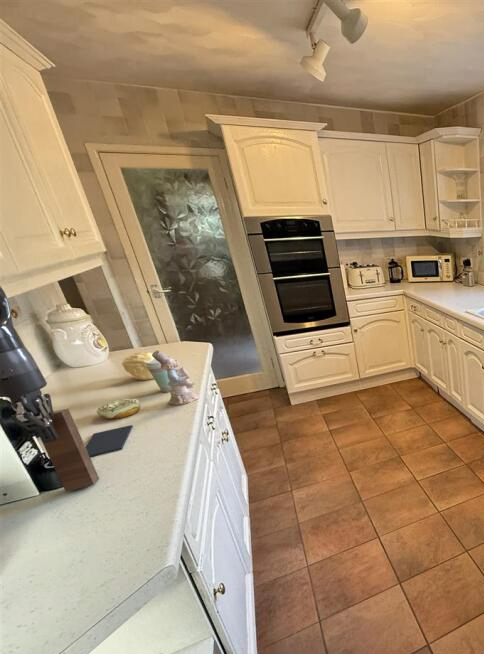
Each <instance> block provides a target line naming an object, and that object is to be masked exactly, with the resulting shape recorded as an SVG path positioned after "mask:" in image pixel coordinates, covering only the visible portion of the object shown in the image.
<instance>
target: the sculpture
mask: <svg viewBox="0 0 484 654" xmlns="http://www.w3.org/2000/svg"><path fill="white" fill-rule="evenodd" d="M153 353H154V352H149V351H147V352H134V354H131V355H130V356H127V357H125V358H124V359H123V361H122V363H121V365H122V367H123V369H124V371H126V372H127V373H129V374H130V376H132V377H133V378H135V379H137V380H141V381H146V380H147V381H149V380H152V379H154V378H153V376H152V374H151V373H150V371H149V369H147V368H146V362H147V361H149V360H151V359H155V358H154V357H153V356H152V354H153Z"/></svg>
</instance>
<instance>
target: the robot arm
mask: <svg viewBox="0 0 484 654" xmlns="http://www.w3.org/2000/svg"><path fill="white" fill-rule="evenodd" d="M13 323H14V322H13V316H12V312H11V308H10V303H9V300H8V297H7V295H6V292H5V291H4V289H3V288H2V286H1V285H0V398H8V399H9V402H10V403H11V404H10V405H11V407H12V409H13V410H14V411H15V412H16V413H15V414H11V415H10V419H11V420H12V421H13V422H14V423H16V424H18V425H19V426H21V427H23V428H24V429H25V430H27V431H33V430H35V431H36V432H37V434H38V437H39V438H40V440H41V439H42V441H43V442H44V443H48V442H52V441H56V440H57V439H58V437H59V435H58V434H57V432H56V430H55V428H54V427H53V425H52V424H51V423H53V420H52V419H51V418H54V413H53V411H54V409H53V403H52V398H51V395H50V394H49V393H42V389H43V388H46V386H47V385H48V382H47V381H46V379H45V376H44V374H43V373H42V371H41V369H40V367H39V366H38V364H37V362H36V360H35V358H34V357H33V355H32V353H31V352H30V351H29V350H28V348H27V347H26V346H25V344H24V342H23V341H22V339H21V336H20V334H18V332H17V329H15V327H14V324H13ZM42 441H41V442H42Z"/></svg>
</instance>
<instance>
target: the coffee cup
mask: <svg viewBox="0 0 484 654" xmlns="http://www.w3.org/2000/svg"><path fill="white" fill-rule="evenodd" d="M173 360H175V359H174V358H173ZM146 368H147V369H149V371H150V373H151V374H152V376H153V379H154V381H155V383H156V384H157V387H158V388H159V389H160V391H161V392H162V393H170V390H172V388H171V387H170V386H169V385H168V382H169V379H168V376H167V370H164V369H162V368H161V363H159V362H158V361H157V360H156V359H151V360H149V361H147V362H146ZM176 370H178V368H176Z"/></svg>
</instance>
